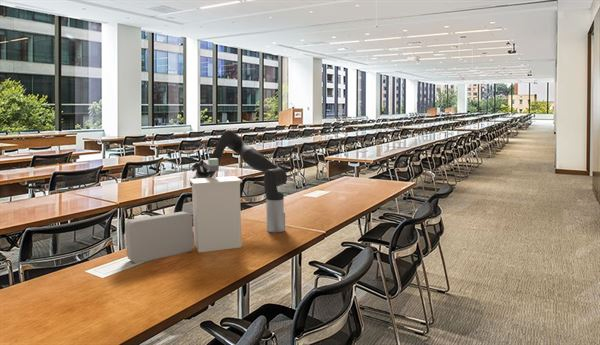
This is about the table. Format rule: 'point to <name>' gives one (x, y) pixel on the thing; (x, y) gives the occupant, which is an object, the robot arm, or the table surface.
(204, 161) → the bar
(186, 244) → the rounded white slab
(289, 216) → the table surface
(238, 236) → the tall stand
